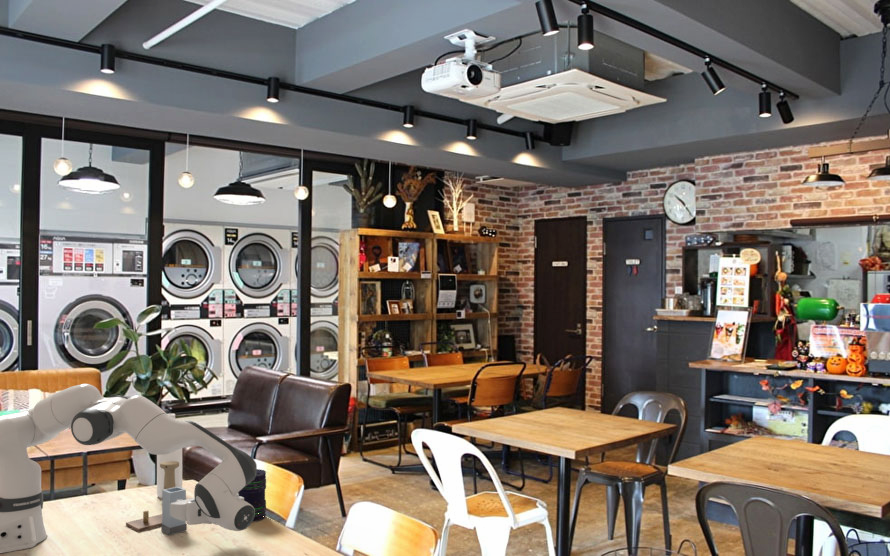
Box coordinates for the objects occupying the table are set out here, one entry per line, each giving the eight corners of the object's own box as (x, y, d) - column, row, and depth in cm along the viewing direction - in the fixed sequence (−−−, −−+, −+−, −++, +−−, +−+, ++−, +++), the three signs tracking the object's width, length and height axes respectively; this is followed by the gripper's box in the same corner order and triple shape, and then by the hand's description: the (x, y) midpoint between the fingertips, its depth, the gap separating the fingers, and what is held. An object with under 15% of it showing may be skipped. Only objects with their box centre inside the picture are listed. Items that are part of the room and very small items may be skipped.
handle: (164, 503, 263) (164, 461, 263) (181, 503, 262) (181, 461, 262) (157, 507, 258) (157, 464, 258) (175, 507, 257) (175, 464, 257)
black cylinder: (229, 520, 243) (229, 475, 243) (246, 511, 252) (246, 468, 253) (255, 523, 240) (255, 477, 240) (271, 514, 249) (272, 470, 249)
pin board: (138, 531, 232) (138, 517, 232) (125, 525, 238) (125, 511, 238) (191, 518, 245) (191, 505, 245) (178, 513, 251) (178, 499, 251)
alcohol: (153, 499, 268) (153, 416, 268) (160, 492, 276) (161, 412, 277) (178, 498, 268) (178, 416, 269) (184, 492, 277) (185, 412, 278)
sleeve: (169, 535, 229) (169, 493, 229) (161, 531, 233) (161, 489, 233) (186, 530, 233) (186, 489, 233) (178, 527, 237) (178, 486, 237)
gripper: (247, 489, 223) (223, 481, 233) (183, 504, 208) (160, 495, 218) (247, 510, 223) (223, 501, 233) (183, 526, 208) (160, 517, 218)
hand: (192, 498), depth 225 cm, fingers open, 8 cm apart
